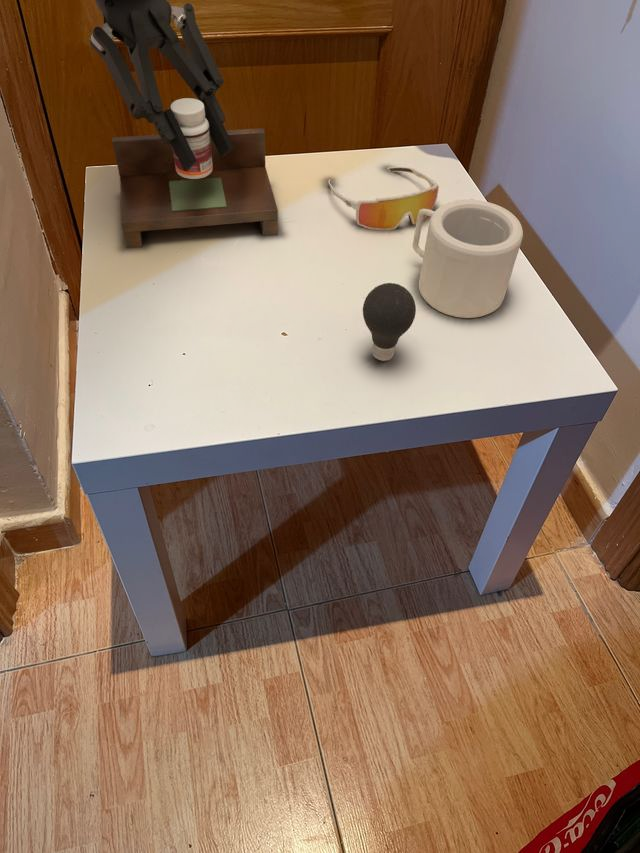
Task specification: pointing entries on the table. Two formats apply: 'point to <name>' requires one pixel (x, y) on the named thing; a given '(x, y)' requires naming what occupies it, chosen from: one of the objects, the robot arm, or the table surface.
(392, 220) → the sunglasses
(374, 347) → the light bulb
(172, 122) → the robot arm
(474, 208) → the mug
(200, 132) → the pill bottle
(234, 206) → the shelf
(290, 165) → the table surface
